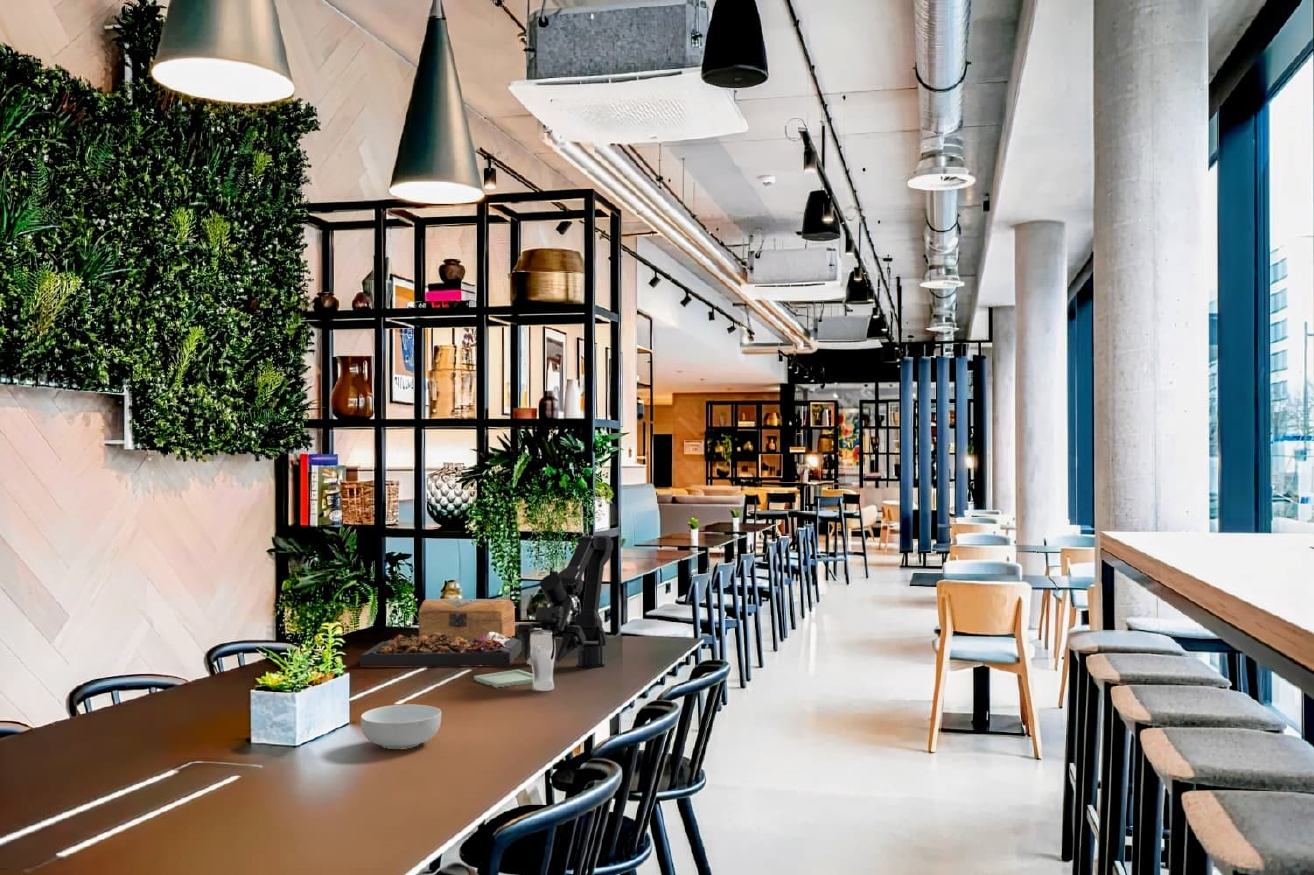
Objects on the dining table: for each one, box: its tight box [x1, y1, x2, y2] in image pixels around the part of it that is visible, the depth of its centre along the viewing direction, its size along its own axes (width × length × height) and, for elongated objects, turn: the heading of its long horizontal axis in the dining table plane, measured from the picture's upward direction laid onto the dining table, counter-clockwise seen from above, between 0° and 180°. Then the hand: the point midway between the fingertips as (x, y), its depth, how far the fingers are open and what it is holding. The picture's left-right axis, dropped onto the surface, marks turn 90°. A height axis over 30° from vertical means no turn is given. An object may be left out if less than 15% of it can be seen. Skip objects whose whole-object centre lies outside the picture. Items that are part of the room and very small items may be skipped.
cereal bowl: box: [360, 703, 442, 749], centre depth 231 cm, size 17×17×7 cm
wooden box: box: [418, 598, 516, 640], centre depth 371 cm, size 30×16×14 cm, turn 80°
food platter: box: [359, 632, 523, 667], centre depth 333 cm, size 45×25×10 cm, turn 89°
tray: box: [473, 668, 533, 689], centre depth 298 cm, size 14×14×1 cm
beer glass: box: [529, 631, 556, 692], centre depth 286 cm, size 7×7×15 cm
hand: (541, 660), depth 286 cm, fingers open, 9 cm apart
